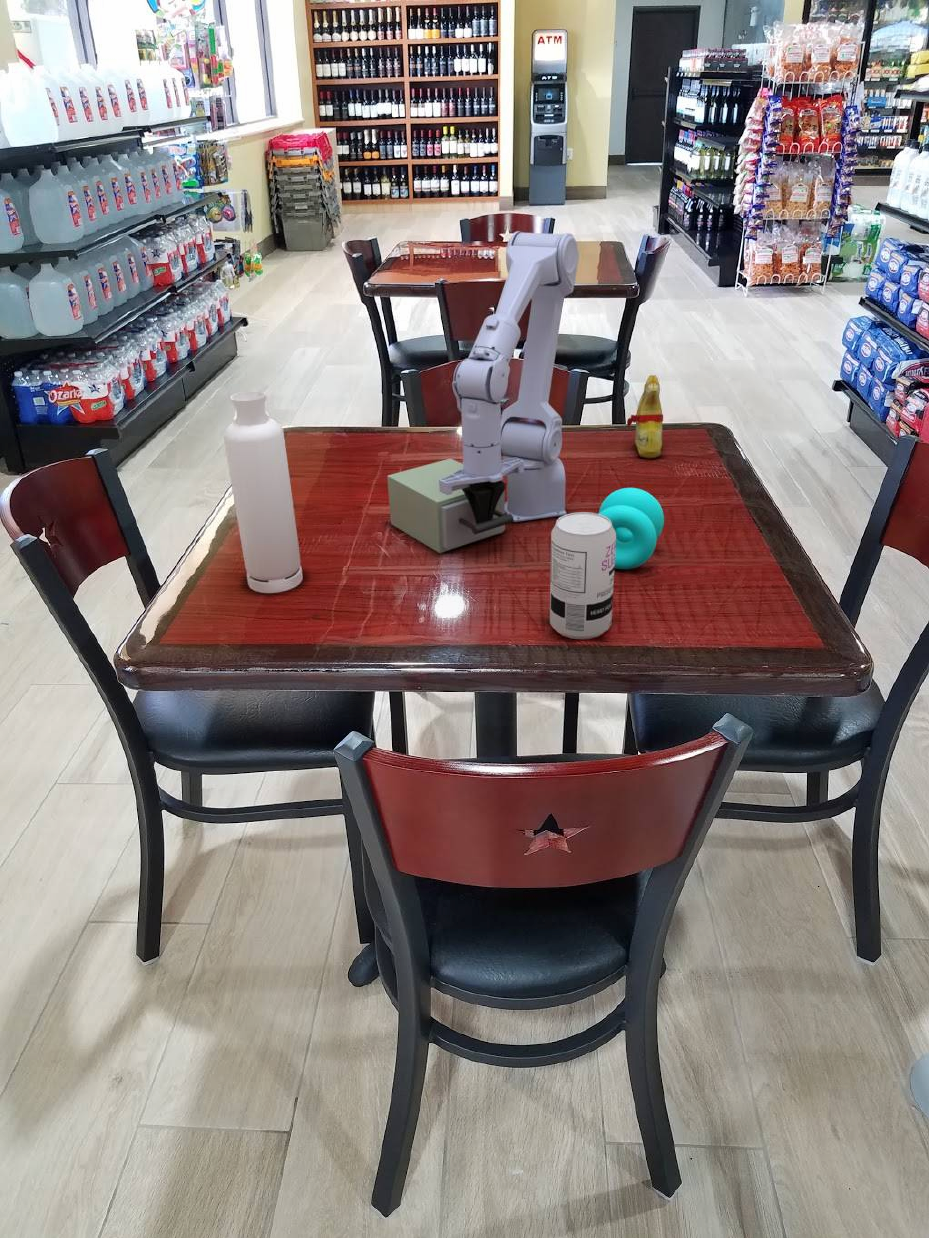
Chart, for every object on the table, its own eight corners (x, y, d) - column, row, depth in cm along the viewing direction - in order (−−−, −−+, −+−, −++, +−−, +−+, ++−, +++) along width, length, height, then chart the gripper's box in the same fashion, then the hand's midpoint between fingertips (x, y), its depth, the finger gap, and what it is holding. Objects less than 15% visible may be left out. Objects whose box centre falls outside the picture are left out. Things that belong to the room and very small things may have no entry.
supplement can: (544, 613, 128) (546, 512, 120) (604, 609, 128) (609, 508, 121) (554, 643, 121) (556, 538, 113) (617, 639, 121) (623, 534, 114)
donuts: (662, 548, 145) (667, 488, 140) (652, 576, 136) (657, 513, 131) (599, 541, 148) (602, 481, 143) (585, 568, 139) (587, 506, 134)
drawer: (524, 540, 146) (524, 500, 143) (465, 560, 141) (464, 519, 137) (457, 505, 160) (455, 467, 156) (400, 522, 154) (398, 483, 151)
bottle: (306, 587, 137) (281, 400, 123) (250, 596, 135) (219, 407, 121) (298, 564, 143) (274, 384, 130) (245, 572, 142) (215, 391, 128)
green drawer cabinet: (503, 532, 152) (502, 482, 147) (439, 553, 146) (437, 502, 141) (452, 505, 162) (450, 458, 158) (390, 524, 156) (387, 475, 152)
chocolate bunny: (657, 441, 188) (663, 366, 180) (664, 460, 178) (670, 382, 171) (623, 441, 188) (627, 367, 181) (628, 460, 179) (632, 383, 171)
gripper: (457, 459, 131) (460, 547, 138) (536, 437, 138) (536, 521, 145) (429, 447, 136) (433, 531, 143) (507, 426, 143) (508, 508, 150)
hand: (483, 525), depth 144 cm, fingers closed, pressing on drawer
